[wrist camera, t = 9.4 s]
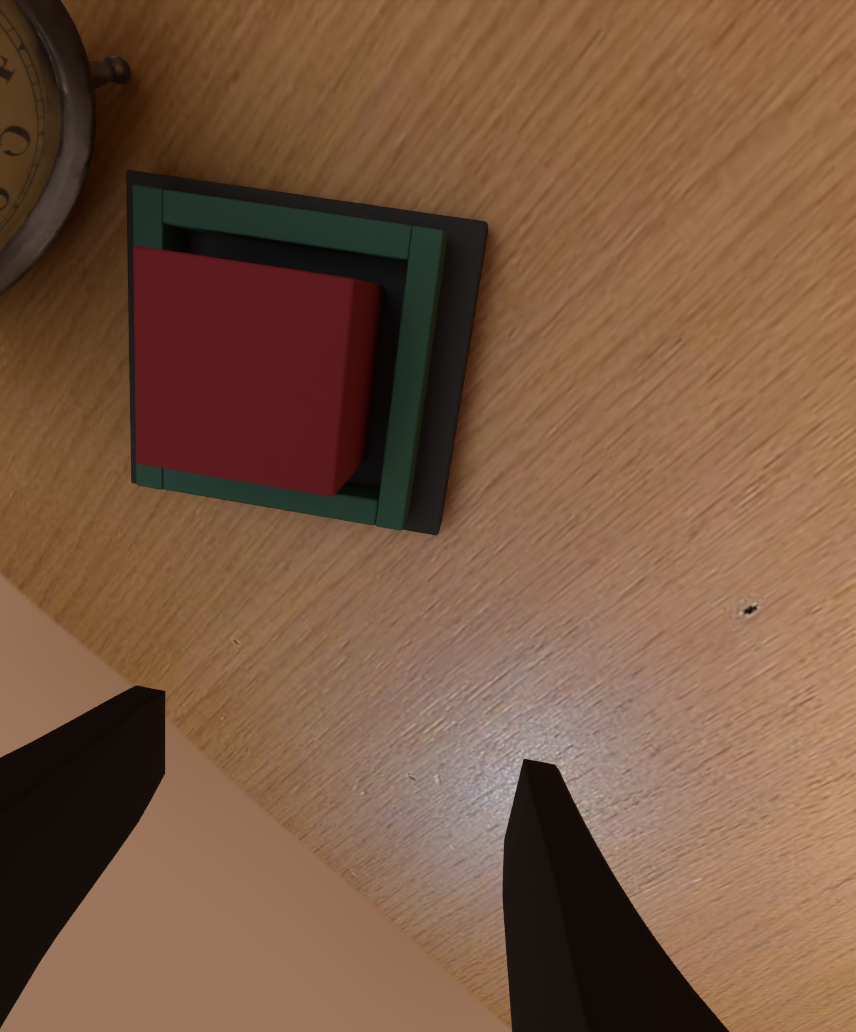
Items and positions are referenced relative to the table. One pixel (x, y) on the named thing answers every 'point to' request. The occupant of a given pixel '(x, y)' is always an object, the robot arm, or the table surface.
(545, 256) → the table surface
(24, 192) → the alarm clock
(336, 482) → the red cube
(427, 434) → the base pad
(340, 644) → the table surface
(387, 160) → the table surface
